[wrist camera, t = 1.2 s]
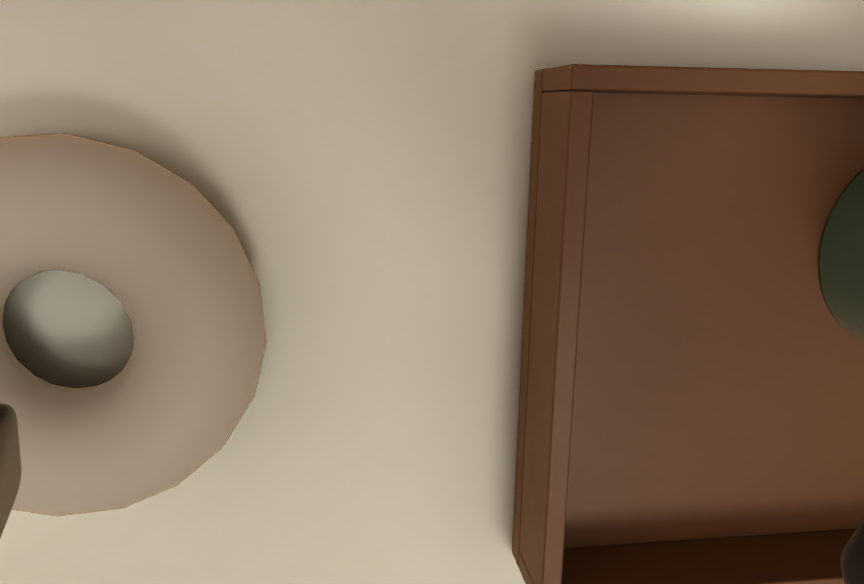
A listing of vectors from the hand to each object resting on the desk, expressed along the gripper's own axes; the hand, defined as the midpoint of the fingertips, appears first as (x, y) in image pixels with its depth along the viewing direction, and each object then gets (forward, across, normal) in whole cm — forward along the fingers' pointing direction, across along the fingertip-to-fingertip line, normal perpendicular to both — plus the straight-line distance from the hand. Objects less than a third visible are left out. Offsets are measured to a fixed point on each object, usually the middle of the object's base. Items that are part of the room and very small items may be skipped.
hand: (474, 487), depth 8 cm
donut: (+13, +8, +7) cm, 17 cm away
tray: (+14, -13, +5) cm, 20 cm away
